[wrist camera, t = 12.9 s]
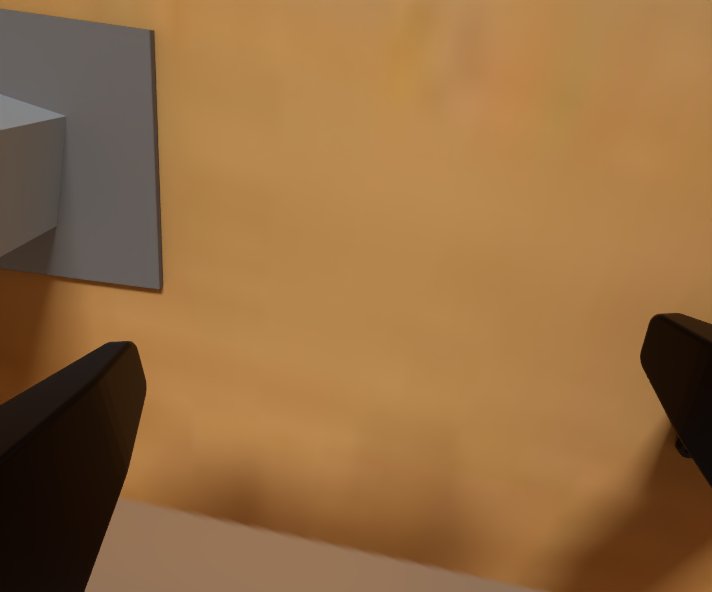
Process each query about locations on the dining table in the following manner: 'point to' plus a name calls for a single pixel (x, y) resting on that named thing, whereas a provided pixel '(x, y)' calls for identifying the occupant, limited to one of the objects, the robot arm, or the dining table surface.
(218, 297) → the dining table surface
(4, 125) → the slate block
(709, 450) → the robot arm
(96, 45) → the coaster
